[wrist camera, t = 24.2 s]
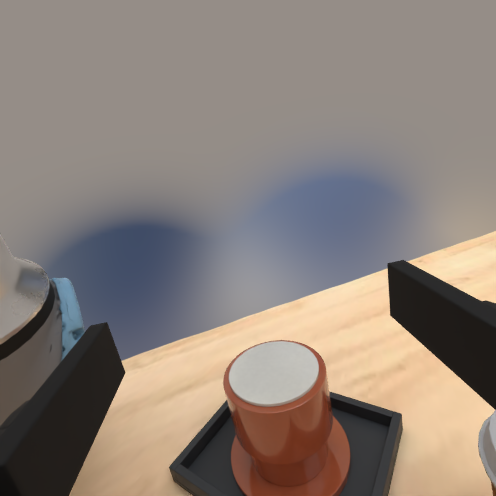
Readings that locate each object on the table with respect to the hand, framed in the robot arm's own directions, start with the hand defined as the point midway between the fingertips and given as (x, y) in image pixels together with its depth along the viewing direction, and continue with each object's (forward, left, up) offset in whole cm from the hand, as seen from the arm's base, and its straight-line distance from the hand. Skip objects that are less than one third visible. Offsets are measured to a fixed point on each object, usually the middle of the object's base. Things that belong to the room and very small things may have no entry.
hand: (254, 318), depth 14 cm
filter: (-7, +9, -22) cm, 25 cm away
